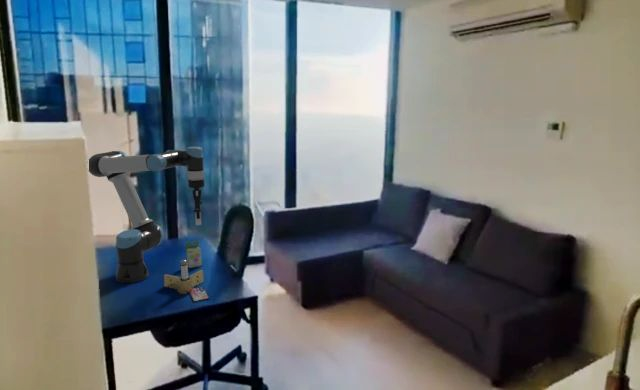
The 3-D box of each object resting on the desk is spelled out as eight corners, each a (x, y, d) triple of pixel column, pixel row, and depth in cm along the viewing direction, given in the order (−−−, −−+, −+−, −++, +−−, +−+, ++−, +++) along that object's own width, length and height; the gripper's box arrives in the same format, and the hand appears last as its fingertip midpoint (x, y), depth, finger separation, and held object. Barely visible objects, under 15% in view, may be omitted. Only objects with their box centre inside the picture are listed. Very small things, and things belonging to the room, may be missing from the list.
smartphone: (193, 301, 200) (187, 288, 213) (193, 303, 200) (187, 290, 214) (210, 298, 203) (203, 285, 217) (210, 300, 204) (203, 287, 217)
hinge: (164, 286, 217) (163, 274, 215) (195, 276, 228) (194, 265, 227) (180, 296, 206) (179, 284, 205) (211, 285, 218) (210, 274, 216)
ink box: (188, 268, 238) (187, 244, 235) (186, 266, 242) (185, 242, 239) (202, 266, 242) (200, 242, 239) (199, 263, 245) (198, 240, 242)
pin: (181, 290, 212) (179, 260, 209) (186, 288, 214) (185, 259, 211) (184, 292, 210) (182, 262, 207) (190, 290, 212) (188, 260, 209)
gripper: (204, 183, 208) (207, 227, 213) (203, 174, 231) (205, 214, 236) (187, 184, 206) (190, 228, 211) (188, 174, 229) (190, 215, 234)
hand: (198, 221), depth 223 cm, fingers open, 13 cm apart
